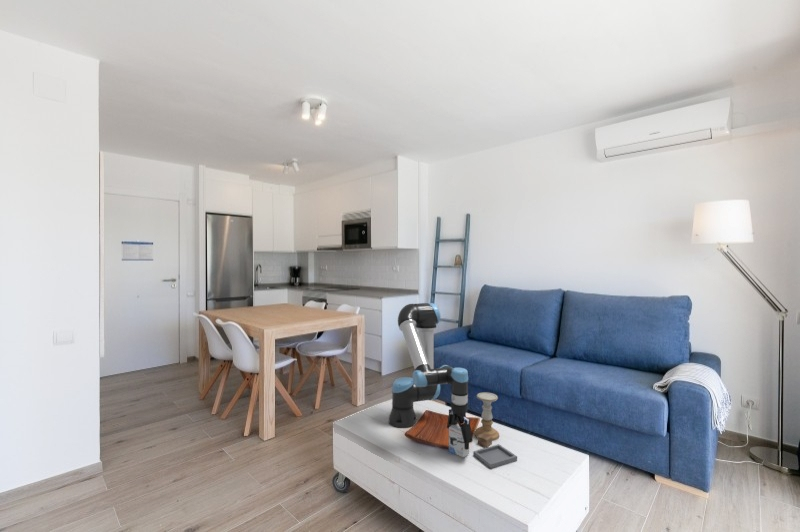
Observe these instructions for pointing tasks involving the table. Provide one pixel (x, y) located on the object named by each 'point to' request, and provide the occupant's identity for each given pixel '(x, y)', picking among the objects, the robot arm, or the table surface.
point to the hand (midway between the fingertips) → (458, 450)
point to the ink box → (456, 440)
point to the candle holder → (487, 415)
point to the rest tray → (495, 456)
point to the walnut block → (484, 440)
